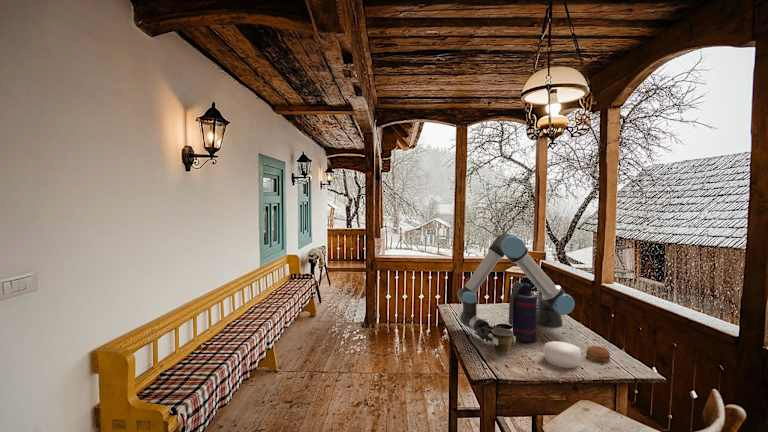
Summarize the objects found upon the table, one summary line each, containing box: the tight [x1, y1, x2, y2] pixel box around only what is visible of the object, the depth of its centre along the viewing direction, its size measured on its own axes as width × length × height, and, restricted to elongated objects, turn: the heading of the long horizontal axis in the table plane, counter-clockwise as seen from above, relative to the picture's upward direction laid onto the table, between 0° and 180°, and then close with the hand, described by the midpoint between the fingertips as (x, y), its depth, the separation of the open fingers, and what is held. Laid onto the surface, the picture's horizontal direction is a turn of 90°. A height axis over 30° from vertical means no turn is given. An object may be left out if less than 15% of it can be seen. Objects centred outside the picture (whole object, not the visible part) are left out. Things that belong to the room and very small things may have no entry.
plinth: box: [544, 341, 582, 369], centre depth 170 cm, size 15×15×6 cm
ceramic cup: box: [488, 327, 513, 355], centre depth 181 cm, size 13×10×10 cm
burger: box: [586, 345, 611, 363], centre depth 173 cm, size 10×9×5 cm
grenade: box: [508, 281, 538, 344], centre depth 195 cm, size 14×12×30 cm
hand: (506, 340), depth 177 cm, fingers closed on ceramic cup, 9 cm apart
